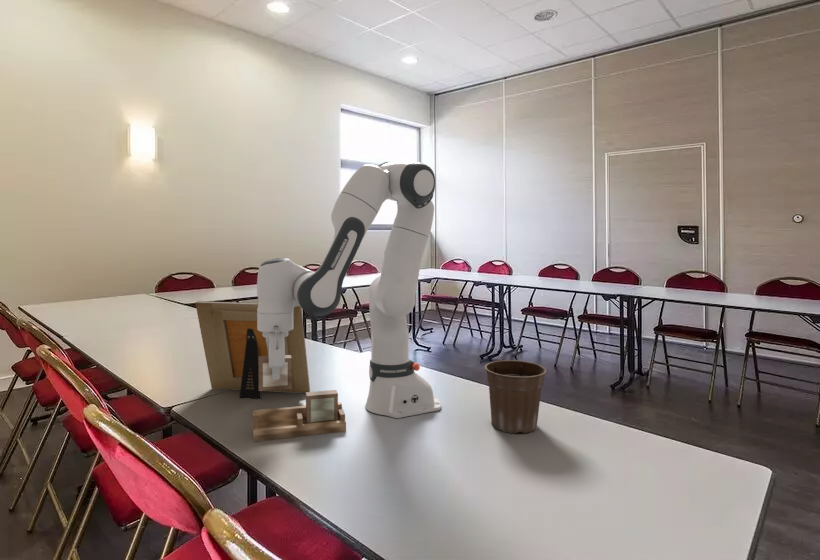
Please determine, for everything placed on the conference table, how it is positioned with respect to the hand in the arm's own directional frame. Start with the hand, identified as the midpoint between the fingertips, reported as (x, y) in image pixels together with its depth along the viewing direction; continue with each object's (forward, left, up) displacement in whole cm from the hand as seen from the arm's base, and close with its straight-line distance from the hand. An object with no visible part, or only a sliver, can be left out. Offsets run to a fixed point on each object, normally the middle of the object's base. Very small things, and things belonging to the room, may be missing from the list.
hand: (275, 376), depth 123 cm
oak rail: (-6, 0, -15) cm, 16 cm away
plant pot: (-62, +12, -15) cm, 65 cm away
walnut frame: (0, 0, -3) cm, 3 cm away
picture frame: (+5, -31, -15) cm, 35 cm away
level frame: (-12, 0, -13) cm, 18 cm away
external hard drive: (-13, -15, -16) cm, 25 cm away
